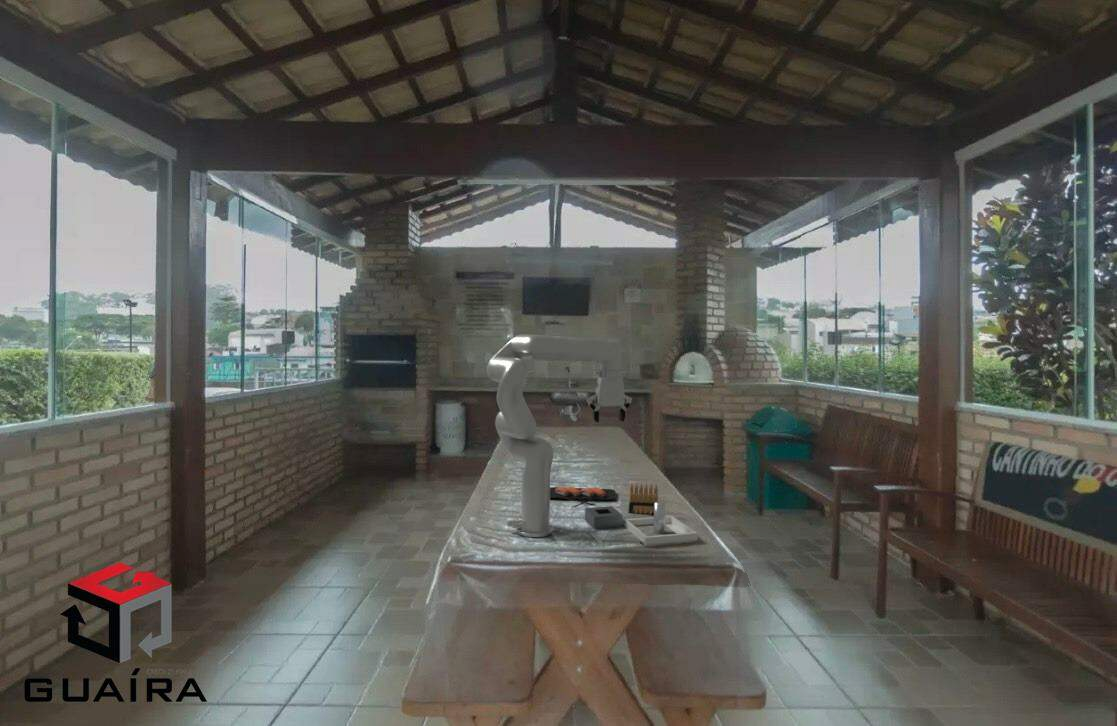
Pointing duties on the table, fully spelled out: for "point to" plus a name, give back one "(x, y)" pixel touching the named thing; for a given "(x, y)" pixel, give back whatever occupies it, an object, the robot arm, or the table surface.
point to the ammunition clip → (643, 504)
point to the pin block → (603, 517)
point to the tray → (671, 522)
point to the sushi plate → (582, 494)
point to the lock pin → (659, 517)
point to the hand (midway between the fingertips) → (609, 421)
